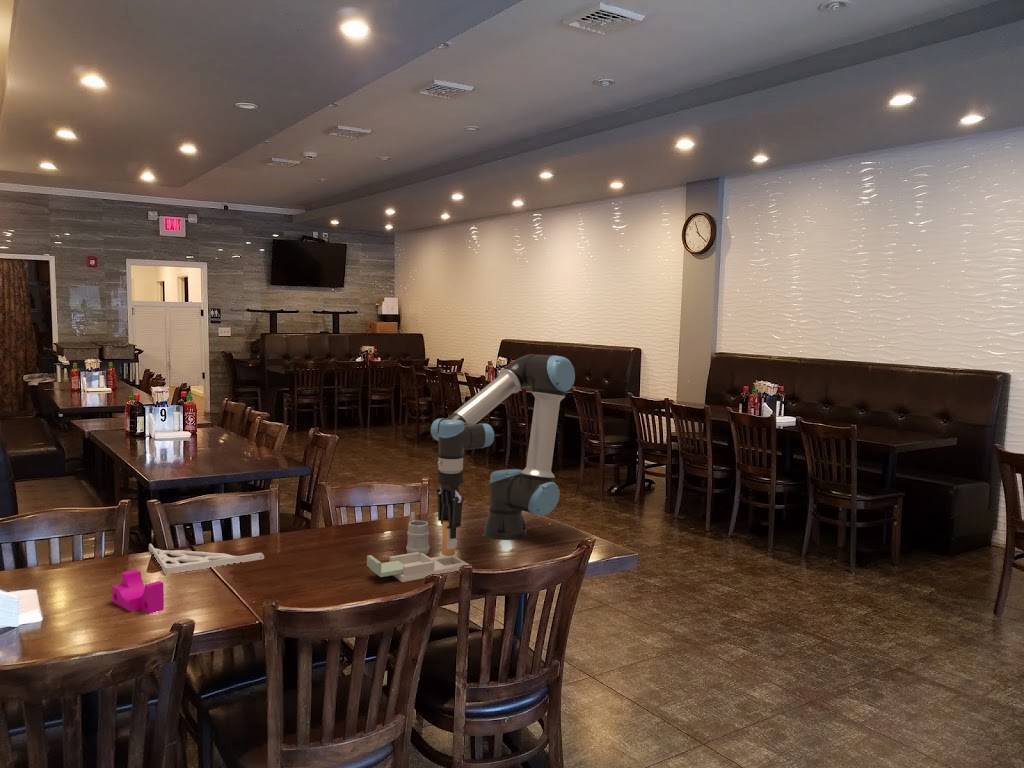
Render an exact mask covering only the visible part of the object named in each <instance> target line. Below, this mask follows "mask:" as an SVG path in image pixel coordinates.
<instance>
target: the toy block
mask: <svg viewBox="0 0 1024 768" xmlns="http://www.w3.org/2000/svg"><path fill="white" fill-rule="evenodd" d="M164 588H165V587H164V582H162V581H161V580H157V581H154V582H150V583H146V584H144V582H143V578H142V573H141V571H140V570H139V569H137V568H136V569H132V570H127V571H124V572H121V583H119V584H115V585H112V586H111V602H112V601H113V602H115V603H116V604H118V605H120V606H122V607H123V608H125V609H127V610H129V611H134V610H137V611H139V610H138V609H141V610H140V611H142V610H143V612H144V611H145V612H144V613H146V612H147V613H146V614H148V613H149V615H151V614H150V613H152V614H154V613H153V612H155V613H157V612H156V611H158V612H161V611H160V610H162V611H164V610H165V605H164V604H165V603H164V602H165V601H164V599H165V597H164V596H165V594H164V592H165V591H164V590H165V589H164ZM116 604H115V605H116ZM118 605H117V606H118ZM120 606H119V607H120ZM122 607H121V608H122ZM123 608H122V609H123ZM125 609H124V610H125ZM163 609H164V610H163ZM127 610H126V611H127ZM129 611H128V612H129ZM134 612H135V611H134Z"/></svg>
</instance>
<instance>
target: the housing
mask: <svg viewBox="0 0 1024 768" xmlns="http://www.w3.org/2000/svg"><path fill="white" fill-rule="evenodd" d="M392 561H399V562H401V563H402V564H404V565H405V566H403V573H401V574H396V575H392V577H394V578H396V579H397V580H398V581H400V582H401V583H406V582H411V581H417V580H421V579H426V578H425V577H426V576H428V575H431V574H440V573H447V572H454V571H459V569H460V567H461V566H462V565H469V566H470V563H467V562H466V561H464V560H462V559H461V558H459V557H457V556H456V555H452V556H445V555H439V556H434V557H433V556H432V557H430V556H428V555H427V554H426V555H425V554H423V553H419V552H415V553H409V554H408V553H405V554H404V553H403V554H399V555H392V556H389V561H388V562H392ZM445 564H446V565H445ZM459 572H460V571H459ZM454 573H455V572H454Z"/></svg>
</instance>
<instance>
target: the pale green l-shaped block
mask: <svg viewBox="0 0 1024 768" xmlns="http://www.w3.org/2000/svg"><path fill="white" fill-rule="evenodd" d="M403 566H405V565H404V564H402V563H401V562H399V561H392V562H389V561H388V562H386V561H385V562H381V561H380V560H379V559H377V558H376V557H374V556H373V555H371V554H369V555H366V567H368V568H369V569H370V571H372V572H373V573H374V574H376V575H377V576H378V577H380V578H384V577H390V576H393V575H396V574H401V573H403Z"/></svg>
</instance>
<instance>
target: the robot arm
mask: <svg viewBox="0 0 1024 768" xmlns="http://www.w3.org/2000/svg"><path fill="white" fill-rule="evenodd" d="M575 380H576V372H575V367H574V365H573V364H572V362H571V361H570V360H569V359H568V358H566V357H565V356H561V355H553V354H552V355H551V354H535V353H531V354H526V355H523V356H521V357H519V358H517V359H515V360H513V361H511V362H510V363H508V365H506V366H505V367H503V368H502V369H501V370H500V371H499V373H498V376H497V377H496V378H494V379H493V380H492V381H491V382H490V383H489V384H487V385H486V386H484V387H483V388H482V389H481V390H479V392H477V393H476V394H475V395H474V396H473V397H471V398H469V400H467V401H466V402H465V403H464V404H462V405H461V406H460V407H459V408H458V409H457V410H455V411H454V412H453V413H451V414H450V415H449V416H448V417H446V418H444V417H441V418H437V419H435V420H433V422H432V424H431V427H430V435H431V437H432V438H433V440H435V441H437V442H438V459H437V460H438V461H437V466H438V467H437V470H439V471H438V472H437V483H438V484H439V485H441V486H440V488H439V487H438V488H436V496H437V520H438V522H440V524H441V531H442V530H443V521H445V520H449V526H447V549H453V548H455V549H457V528H460V527H462V526H461V525H462V512H463V503H464V501H465V497H464V495H460V489H459V487H460V486H461V485H463V477H464V473H463V470H464V451H467V450H474V449H483V448H486V447H490V446H491V445H492V444H493V442H494V441H495V431H494V428H493V427H492V425H490V424H488V423H482V422H481V423H480V421H481V420H482V419H483V418H485V417H486V416H487V415H488V414H489V413H491V412H492V411H493V410H494V409H496V407H498V406H499V405H500V404H502V402H503V401H505V400H506V399H507V398H508V397H509V396H511V395H512V394H517V393H519V392H520V391H522V390H523V389H526V388H531V394H532V395H533V396H534V404H533V405H534V406H533V412H532V420H531V421H532V422H531V427H530V434H529V435H530V436H529V443H528V448H527V449H528V450H527V459H526V466H525V468H523V469H519V468H510V469H501V470H496V471H493V472H491V474H490V476H489V484H488V485H489V489H488V490H489V492H488V493H489V498H488V500H489V507H488V509H489V511H488V516H487V518H486V521H485V525H484V526H483V527H484V528H483V536H485V537H486V536H487V538H488V539H494V540H499V541H500V540H501V541H512V540H513V541H514V540H519V539H520V540H521V539H522V538H525V537H526V536H527V526H526V522H525V518H524V516H523V512H526V513H530V514H532V515H538V516H546V515H548V514H550V513H552V512H553V510H554V509H556V507H557V504H558V503H559V500H560V488H559V486H558V484H557V483H555V477H556V476H555V474H554V473H553V472H552V467H553V458H554V450H555V444H556V442H555V441H556V437H557V436H556V434H557V427H558V422H559V421H558V420H559V412H560V405H561V404H560V403H561V401H563V399H565V398H566V394H567V391H569V390H571V389H572V387H573V386H574V383H575ZM478 422H479V423H478Z"/></svg>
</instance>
